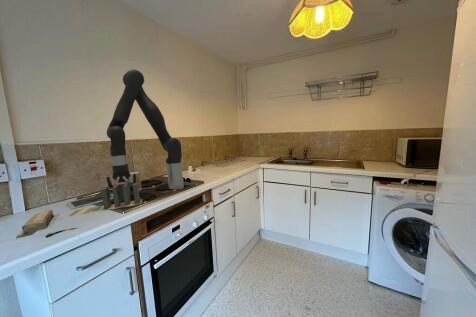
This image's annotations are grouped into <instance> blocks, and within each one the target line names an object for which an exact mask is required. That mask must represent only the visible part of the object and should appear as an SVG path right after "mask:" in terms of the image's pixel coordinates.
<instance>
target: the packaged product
mask: <svg viewBox="0 0 476 317" xmlns="http://www.w3.org/2000/svg"><path fill="white" fill-rule="evenodd" d="M53 212H54V211H53V209H46V210H43V211H40V212H36V213H35V214H33V215H32V216H30V218H29V219H28V220H27V221H26V222H25V223H24V224H23V225H22V226H21V229H22V230H21V231H20V232H18V234H17V235H16V239H19V238H24V237H27V236H31V235H35V233H37V232H38V231H41V230H42V231H43V230H46V229H50V228H52V227H53V226H54V224H55V222H56V221H57V219H58V218H59V216H60V215H61V213H60V212H59V213H56V214H54V213H53Z"/></svg>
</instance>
